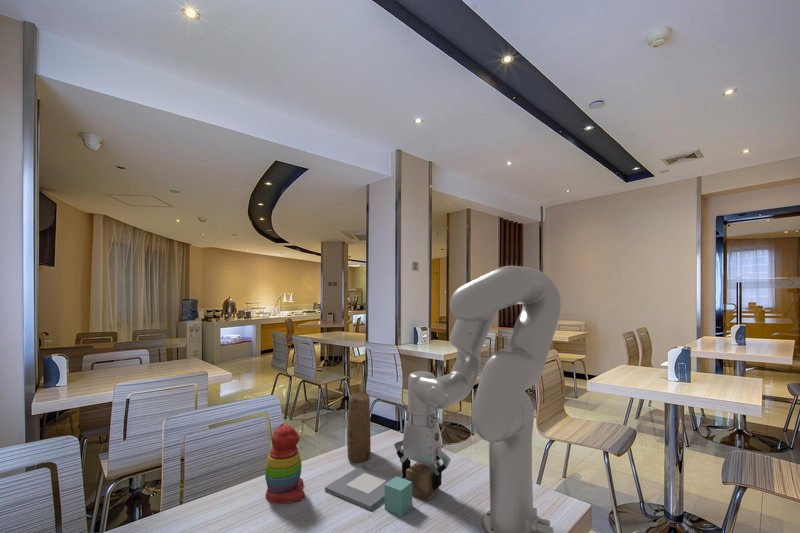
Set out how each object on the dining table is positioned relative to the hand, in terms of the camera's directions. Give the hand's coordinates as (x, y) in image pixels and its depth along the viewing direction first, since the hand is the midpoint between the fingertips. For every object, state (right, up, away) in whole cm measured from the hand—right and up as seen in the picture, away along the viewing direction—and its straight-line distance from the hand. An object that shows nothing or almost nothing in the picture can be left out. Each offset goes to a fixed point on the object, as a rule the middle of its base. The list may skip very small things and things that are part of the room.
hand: (421, 481), depth 101 cm
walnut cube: (0, -2, 0) cm, 2 cm away
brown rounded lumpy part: (-19, -4, +20) cm, 28 cm away
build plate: (-15, -2, +2) cm, 15 cm away
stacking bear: (-37, -3, -2) cm, 37 cm away
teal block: (-6, -2, -8) cm, 10 cm away
